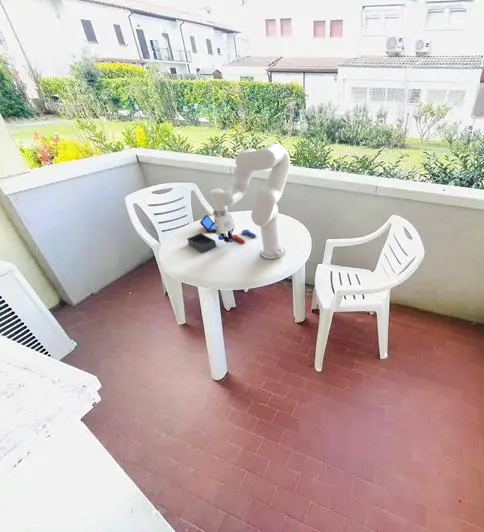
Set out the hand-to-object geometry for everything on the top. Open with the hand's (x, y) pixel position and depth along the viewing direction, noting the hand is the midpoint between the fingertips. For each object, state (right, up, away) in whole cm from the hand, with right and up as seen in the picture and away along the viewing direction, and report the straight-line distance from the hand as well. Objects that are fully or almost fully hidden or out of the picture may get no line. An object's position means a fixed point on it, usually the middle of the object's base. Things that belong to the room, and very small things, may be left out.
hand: (228, 240), depth 165 cm
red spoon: (+3, +1, +10) cm, 10 cm away
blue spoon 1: (-2, +1, +2) cm, 3 cm away
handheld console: (-18, +10, +24) cm, 32 cm away
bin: (-17, -2, +5) cm, 18 cm away
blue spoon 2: (+8, +5, +16) cm, 19 cm away
